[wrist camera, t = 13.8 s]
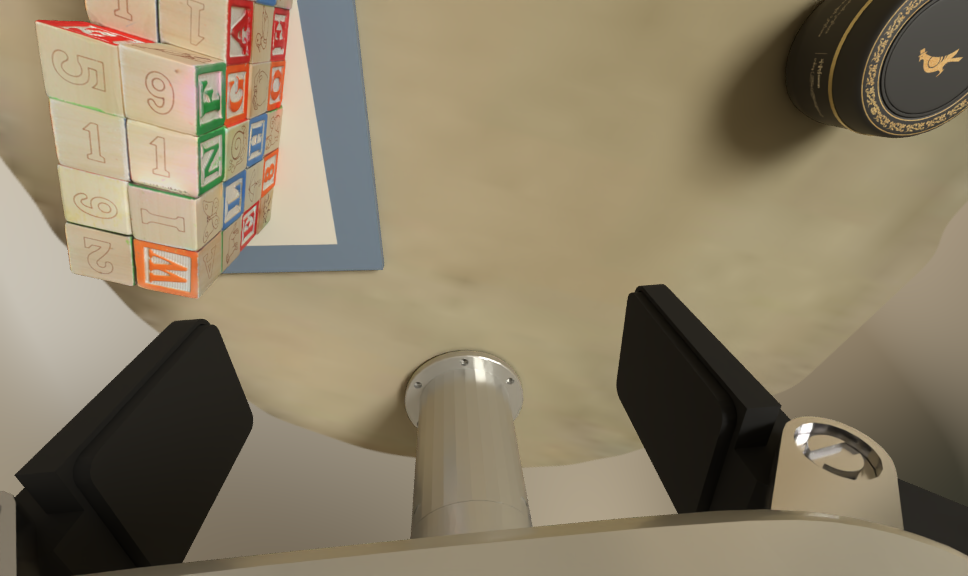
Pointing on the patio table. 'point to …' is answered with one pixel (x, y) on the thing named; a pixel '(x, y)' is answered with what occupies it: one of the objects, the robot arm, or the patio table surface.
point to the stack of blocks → (165, 134)
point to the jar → (882, 65)
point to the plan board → (321, 153)
